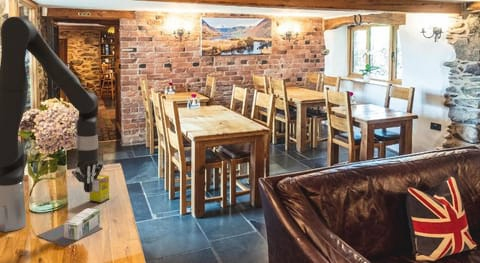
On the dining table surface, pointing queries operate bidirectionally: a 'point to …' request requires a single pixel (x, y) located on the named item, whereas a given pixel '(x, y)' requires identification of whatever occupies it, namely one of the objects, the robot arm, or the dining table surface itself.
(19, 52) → the robot arm
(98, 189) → the supplement box
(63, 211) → the dining table surface
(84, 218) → the syrup box
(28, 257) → the dining table surface
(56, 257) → the dining table surface
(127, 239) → the dining table surface
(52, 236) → the charcoal mat
